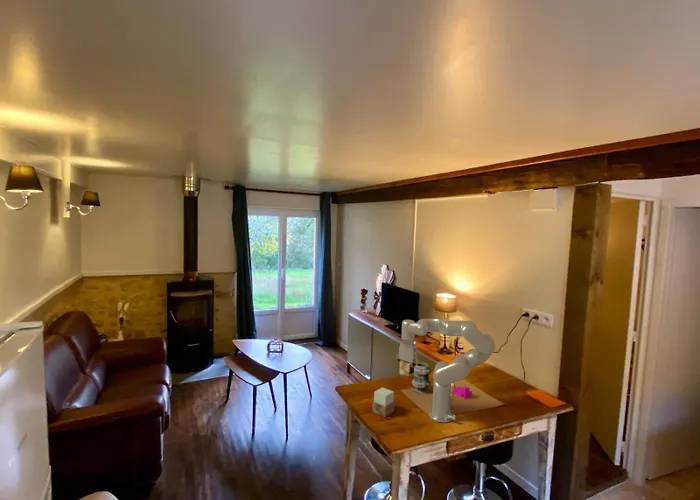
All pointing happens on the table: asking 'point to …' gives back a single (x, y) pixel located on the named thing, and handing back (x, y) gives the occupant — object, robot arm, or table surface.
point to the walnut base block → (383, 409)
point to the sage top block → (383, 396)
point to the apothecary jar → (421, 377)
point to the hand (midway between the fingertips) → (406, 371)
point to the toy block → (462, 392)
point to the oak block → (405, 368)
